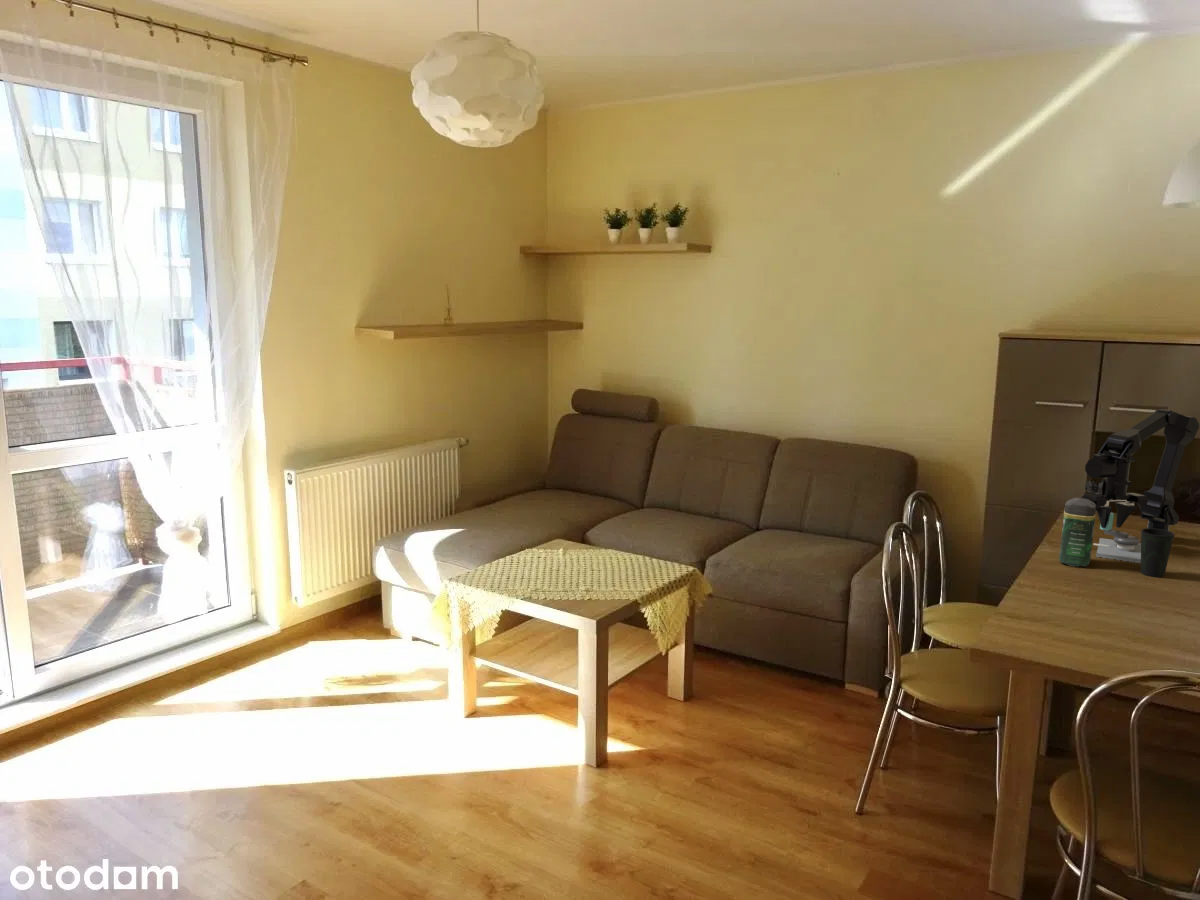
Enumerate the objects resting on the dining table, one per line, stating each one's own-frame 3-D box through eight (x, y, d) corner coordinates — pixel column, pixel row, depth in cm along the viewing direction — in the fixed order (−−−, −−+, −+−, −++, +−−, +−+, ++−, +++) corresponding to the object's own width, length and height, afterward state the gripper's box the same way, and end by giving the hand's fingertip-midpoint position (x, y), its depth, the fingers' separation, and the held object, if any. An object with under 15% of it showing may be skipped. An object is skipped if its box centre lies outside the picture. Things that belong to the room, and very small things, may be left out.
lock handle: (1105, 534, 267) (1108, 510, 265) (1142, 542, 259) (1145, 518, 257) (1095, 538, 263) (1098, 513, 262) (1132, 546, 255) (1135, 521, 254)
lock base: (1094, 541, 272) (1095, 531, 271) (1152, 548, 264) (1153, 539, 263) (1091, 556, 257) (1092, 546, 256) (1152, 565, 249) (1153, 555, 248)
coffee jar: (1089, 569, 245) (1096, 505, 242) (1057, 564, 249) (1064, 501, 246) (1090, 560, 253) (1097, 497, 250) (1060, 555, 257) (1066, 494, 254)
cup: (1167, 580, 236) (1172, 537, 234) (1134, 574, 241) (1139, 532, 238) (1170, 573, 242) (1175, 531, 240) (1138, 567, 247) (1143, 526, 244)
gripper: (1122, 471, 271) (1116, 520, 273) (1070, 471, 267) (1064, 521, 269) (1152, 478, 260) (1145, 529, 262) (1098, 478, 256) (1091, 530, 258)
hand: (1110, 527), depth 263 cm, fingers open, 5 cm apart
